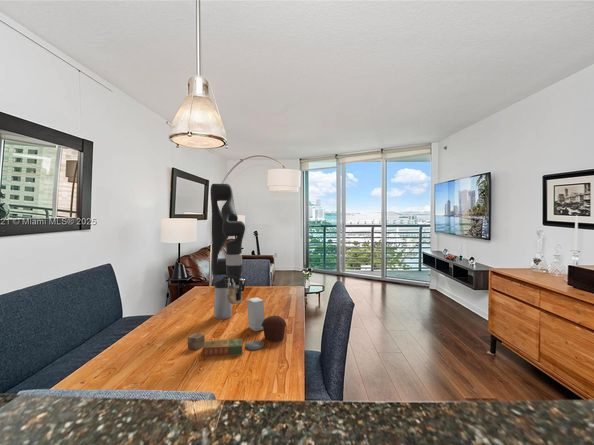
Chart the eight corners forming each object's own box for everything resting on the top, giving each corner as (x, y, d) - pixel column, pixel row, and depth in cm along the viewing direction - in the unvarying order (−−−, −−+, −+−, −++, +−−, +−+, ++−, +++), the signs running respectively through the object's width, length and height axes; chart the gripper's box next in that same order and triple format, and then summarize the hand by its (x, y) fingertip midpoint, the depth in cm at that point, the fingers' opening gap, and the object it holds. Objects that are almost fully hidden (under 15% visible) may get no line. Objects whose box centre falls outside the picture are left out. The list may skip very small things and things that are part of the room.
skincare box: (265, 329, 157) (264, 300, 156) (254, 332, 153) (253, 302, 153) (257, 324, 164) (257, 296, 163) (247, 327, 160) (246, 298, 160)
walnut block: (187, 348, 135) (187, 337, 135) (195, 344, 140) (195, 333, 140) (197, 350, 133) (196, 338, 133) (204, 345, 138) (204, 334, 138)
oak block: (227, 302, 147) (226, 287, 147) (235, 300, 151) (235, 285, 150) (233, 304, 144) (233, 289, 143) (242, 302, 147) (242, 287, 147)
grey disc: (241, 346, 136) (241, 344, 136) (255, 341, 142) (255, 339, 142) (253, 351, 131) (253, 350, 131) (267, 345, 137) (267, 344, 137)
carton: (205, 350, 134) (204, 340, 134) (242, 347, 137) (242, 337, 137) (202, 358, 126) (202, 348, 126) (242, 355, 129) (242, 345, 129)
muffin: (284, 332, 152) (284, 312, 152) (288, 341, 142) (288, 319, 141) (260, 334, 150) (259, 314, 150) (262, 344, 139) (262, 321, 139)
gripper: (218, 262, 148) (219, 298, 149) (237, 266, 139) (237, 304, 140) (231, 260, 154) (231, 294, 155) (250, 264, 145) (250, 300, 145)
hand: (234, 299), depth 147 cm, fingers closed on oak block, 5 cm apart
